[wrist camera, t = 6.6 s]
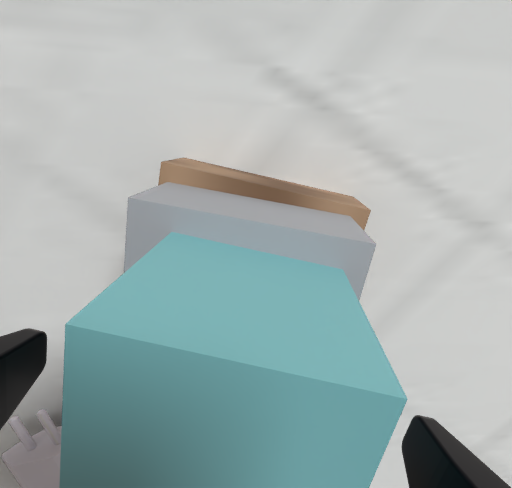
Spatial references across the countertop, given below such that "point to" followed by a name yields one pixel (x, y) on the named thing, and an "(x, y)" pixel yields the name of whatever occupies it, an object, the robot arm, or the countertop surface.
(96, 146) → the countertop surface
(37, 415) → the charger
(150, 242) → the tower top
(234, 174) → the tower base
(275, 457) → the teal cube
